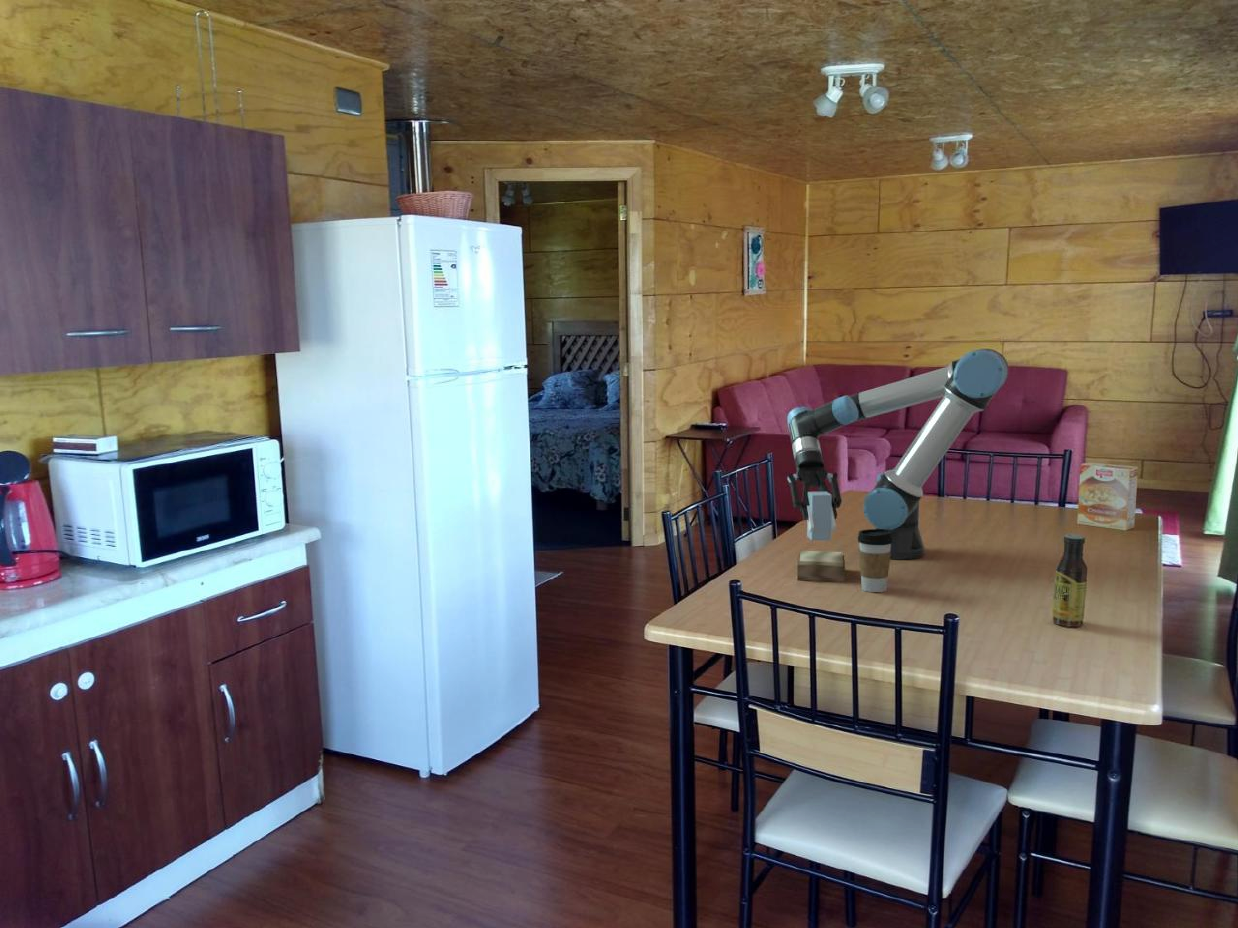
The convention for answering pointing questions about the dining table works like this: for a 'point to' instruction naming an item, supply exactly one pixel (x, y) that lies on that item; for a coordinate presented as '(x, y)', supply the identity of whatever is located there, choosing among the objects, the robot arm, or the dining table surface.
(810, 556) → the pedestal
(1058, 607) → the sauce bottle
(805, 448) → the robot arm
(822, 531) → the block
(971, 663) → the dining table surface
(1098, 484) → the coffeecake box
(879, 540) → the coffee cup
